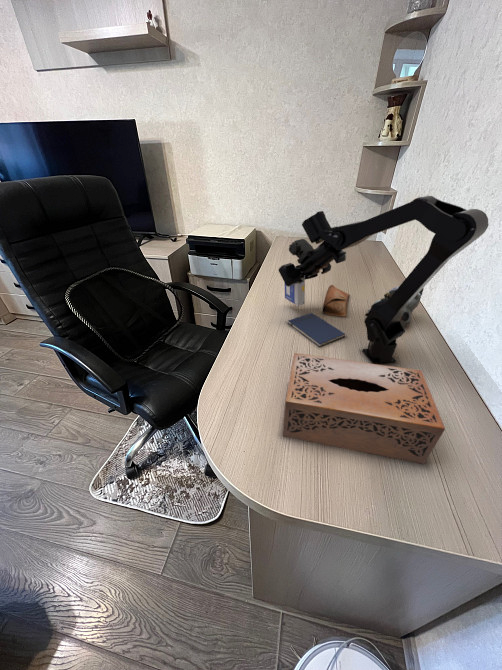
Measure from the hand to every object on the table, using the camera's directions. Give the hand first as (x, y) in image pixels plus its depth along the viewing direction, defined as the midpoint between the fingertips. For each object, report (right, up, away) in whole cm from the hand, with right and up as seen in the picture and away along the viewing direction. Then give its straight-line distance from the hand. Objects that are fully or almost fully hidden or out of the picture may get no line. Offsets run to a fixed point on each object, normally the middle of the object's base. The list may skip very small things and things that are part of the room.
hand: (291, 281), depth 92 cm
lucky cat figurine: (+33, -13, 0) cm, 35 cm away
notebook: (+7, -16, -5) cm, 18 cm away
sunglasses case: (+18, -7, +9) cm, 21 cm away
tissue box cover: (+7, -36, -34) cm, 50 cm away
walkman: (+2, -6, +3) cm, 7 cm away
